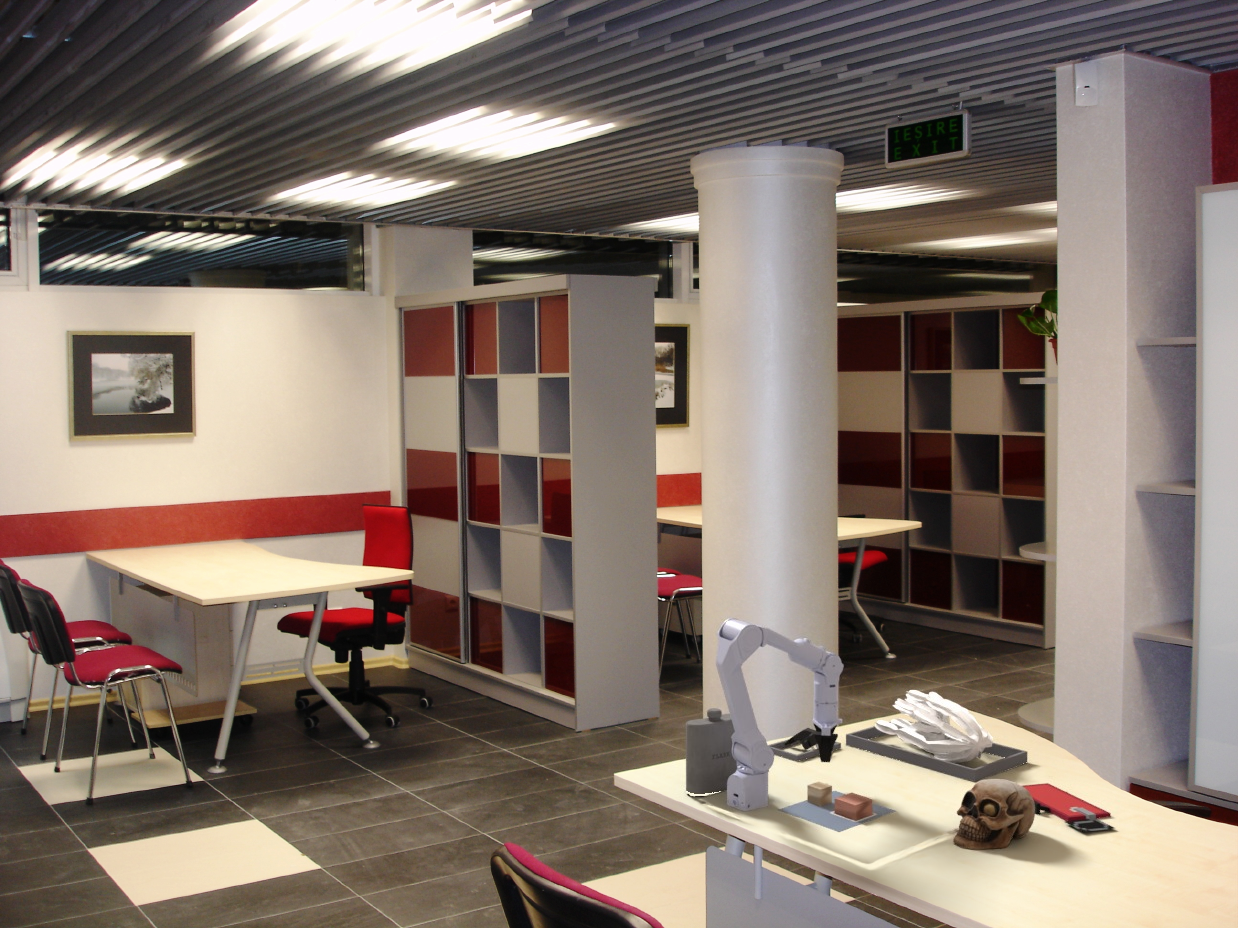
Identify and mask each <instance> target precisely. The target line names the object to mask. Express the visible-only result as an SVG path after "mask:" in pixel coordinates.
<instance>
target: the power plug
mask: <svg viewBox="0 0 1238 928" xmlns="http://www.w3.org/2000/svg"><path fill="white" fill-rule="evenodd" d="M814 732H817V731H816V729H813V728H810V727H807V728H804V729H803V730H801V731H799V732H797V733H795V734H794V735H793V736H791V737H790V738H789V740H788V739H787V740H788V741H787V742H786V744H785V745H788V744H789V745H790V744H792V743H794V742H796V741H798V740H799V741H800V743H799V744H801V745H802V748H803V750H804V751H807V750H809V749H811V750H814V749H818V744H817V741H816V739H815V737H814ZM790 746H791V745H790ZM815 747H816V748H815Z"/></svg>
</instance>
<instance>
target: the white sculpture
mask: <svg viewBox="0 0 1238 928" xmlns="http://www.w3.org/2000/svg"><path fill="white" fill-rule="evenodd" d="M905 692H906V694H905V696H906V698H904V699H902V698H900V697H899V698H897V700H895V701H894V704H892V707H894V709H896V710H897V711H899V712H900V713H901V714H902V715H906V716H908V717H910V718H912V719H913V720H915V722H914V723H910V722H911V721H910V722H908V721H909V720H907V719H903V718H900V717H897V718H896V719H895V718H892V720H889V721H886V720H884V719H883V720H882V719H879V720H877V721H875V722H874V723H875V724H874V726H875V727H876V728H877V729H878V730H880V731H882V732H884V733H888V734H887V735H891V736H892V735H893V736H894V735H896V736H898V738H899V739H900V740H902V741H903V742H906V743H908V744H910V745H914V746H917V747H918V748H920V749H922V750H924V751H926V752H928V753H931V754H933V755H934V757H933V758H937V759H940V760H944V761H947V762H951V763H955V764H958V763H965V762H970V761H972V760H973V759H981V757H982V753H984V752H983V750H984V749H985V747H991V746H992V743H994V737H993V736H992V735H991V733H990V732H988V731H986V730H985V729H984V728H983V727H982V725H980V724H979V722H978V721H977V720H976V718H975V716H974V715H972V714H971V713H970V712H969V709H968V708H965V707H963V706H962V705H960V704H959V703H957V702H954V701H952V700H950V699H946V698H944V697H943V696H941V695H939V694H938V693H937V692H935V691H930V692H928V694H927V693H924V692H921V691H920V690H917V689H910V690H909V691H908V690H905ZM950 719H951V720H953V721H954V723H955V724H957V725H958V726H959V727H960V728H961V730H963V731H964V732H965V733H964V732H963V731H961V730H960V729H958V728H957V727H955V726H953V725H951V722H950V721H951V720H950ZM889 722H891V723H889ZM898 728H902V729H898ZM949 738H950V739H949Z"/></svg>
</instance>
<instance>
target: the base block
mask: <svg viewBox="0 0 1238 928" xmlns="http://www.w3.org/2000/svg"><path fill="white" fill-rule="evenodd" d="M845 794H846V795H843V796H840V797H837V798H835V814H838V815H840V816H843V817H846V818H849V819H852V820H855V821H856V820H859V819H862V818H864V817H867V816H870V815H873V803H874V802H873V801H874V800H873V798H869V797H867V796H864V795H860V794H859V793H854V792H849V793H845Z"/></svg>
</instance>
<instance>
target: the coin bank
mask: <svg viewBox="0 0 1238 928" xmlns="http://www.w3.org/2000/svg"><path fill="white" fill-rule="evenodd" d="M956 814H957V816H960V817H962V818H961V819H960V821H959V825H958V830H957V832H956V833H955V835H954V837H953V841H952V842H953V844H954V845H955V846H958V847H961V848H964V849H969V850H975V851H976V850H977V851H978V850H987V849H991V850H994V849H1006V848H1007V847H1008V846H1009V845H1010V842H1011V840H1013V839H1021V838H1023V836H1025V835H1026V834H1027V833H1028V832H1029V831H1030V829H1031V828H1032V826H1033V823H1034V821H1035V816H1036V814H1035V804H1034V801H1033V798H1032V796H1031V794H1030V793H1029V791H1028V790H1027V789H1026V788H1024V787H1023V785H1020V784H1018V783H1017V782H1014V781H1011V780H1009V779H1002V778H985V779H982V780H979V781H976V782H975V783H974V784H973V786H972V788H971V789H969V790H967V791H966V792H965V794H964V796H963V798H962V801H961V804H960V807H959V809H957V811H956Z"/></svg>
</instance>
